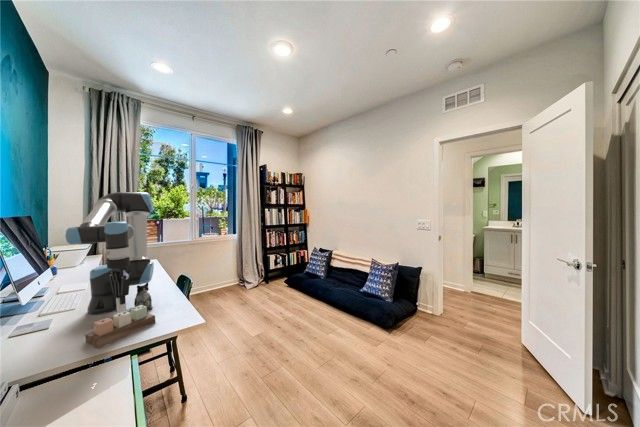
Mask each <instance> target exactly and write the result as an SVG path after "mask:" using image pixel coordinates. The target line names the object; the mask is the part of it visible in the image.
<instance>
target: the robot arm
mask: <svg viewBox="0 0 640 427" xmlns="http://www.w3.org/2000/svg"><path fill="white" fill-rule="evenodd" d="M153 211H154V205H153V200H152V197H151V194H150V193H149V192H144V191H142V192H141V191H139V192H137V191H135V192H131V191H130V192H129V191H127V192H126V191H124V192H123V191H122V192H121V191H117V192H111V193H108V194H105V195H104V196H102V197H100V198H98V199H97V200H96V201H95V203H94V205H93V209H92V210H91V211H90V213H88V215H87V216H86V217H85V219H84V220H83V221H82V222H81V224H80V225H79V226H72V227H68V228H67V229H66V231H65V236H64V237H65V240H66V242H67V244H69V245H84V244H98V243H105V252H104V254H105V255H106V264H103V265H100V266H96V267H94V268H92V269H91V270H90V272H89V284H90V285H89V286H90V296H91V297H90V301H89V303H88V305H87V314H88V315H91V316H92V315H95V316H97V315H103V314H107V313H111V312H112V313H113V312H115V311H116V312H117V314H118V313H121V312H124V311H127V301H126V300H127V299H126V297H127V296H128V295H130V294H129V293H130V287H132V286H138V285H139V286H142V285H145V284H146V283H148V284H149V283H150V282H151V281H152V279H153V276H154V265H155V264H154V262H153V261H151V259H150V258H149V256H148V217H149V216H150V215H151V212H153ZM115 213H124V214H125V215H126V216H127V218H128V222H126V221H111V222H110V221H109V219H111V218H110V217H111V216H112V215H115ZM108 221H109V222H108Z"/></svg>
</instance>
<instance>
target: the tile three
mask: <svg viewBox="0 0 640 427" xmlns="http://www.w3.org/2000/svg"><path fill="white" fill-rule="evenodd" d="M131 308H132V309H129V311H130V310H131V311H130V313H131V319H132V320H135V321H137V320H140V319H142V318H144V317H147V313H148V310H147V307H146V306H143V305H140V306H137V307H135V306H134V307H131Z"/></svg>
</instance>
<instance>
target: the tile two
mask: <svg viewBox="0 0 640 427" xmlns="http://www.w3.org/2000/svg"><path fill="white" fill-rule="evenodd" d="M112 320H113V323H114V326H115V327H117V328H121V327H123V326H125V325H128V324H130V323H131V311H127V310H125V311H122V312H119V313H118V312H117V313H115V314H114V315H113V316H112Z"/></svg>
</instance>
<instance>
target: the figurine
mask: <svg viewBox="0 0 640 427" xmlns="http://www.w3.org/2000/svg"><path fill="white" fill-rule="evenodd" d="M149 290H150V289H149V282H148V283H144V284H142V285H136V292H137V293H136V294H135V298H134V303H133V304H134V307H137V306H140V305H143V306H146V307H147V311H150V310H153V306H152V305H153V304H152V302H153V301H152V296H151V294H150V293H149V292H148V291H149ZM132 308H133V307H131V308H130V309H132ZM130 309H129V312H131V310H130Z"/></svg>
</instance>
